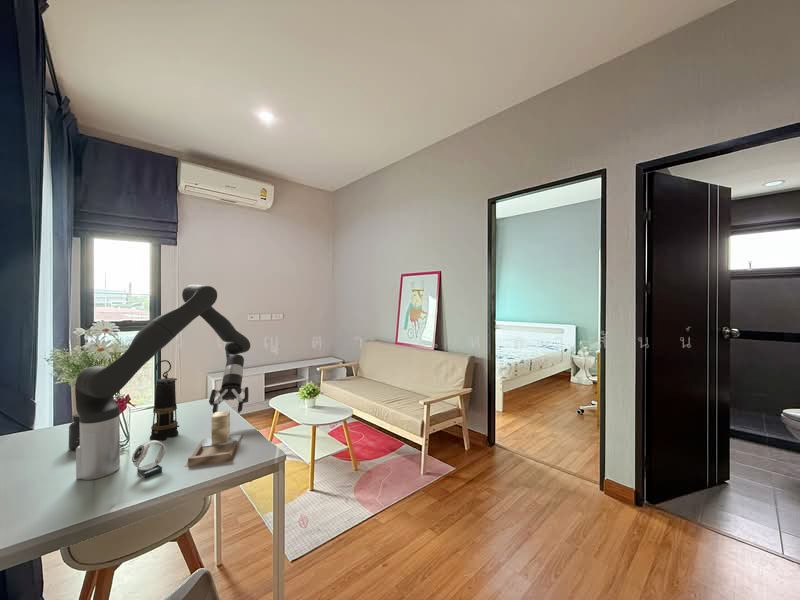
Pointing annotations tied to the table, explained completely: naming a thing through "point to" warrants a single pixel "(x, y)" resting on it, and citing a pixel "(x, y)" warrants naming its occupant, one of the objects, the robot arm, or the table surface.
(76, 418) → the supplement bottle
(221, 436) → the birch block
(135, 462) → the watch
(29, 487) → the table surface
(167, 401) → the lantern
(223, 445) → the brown wooden flat tray
